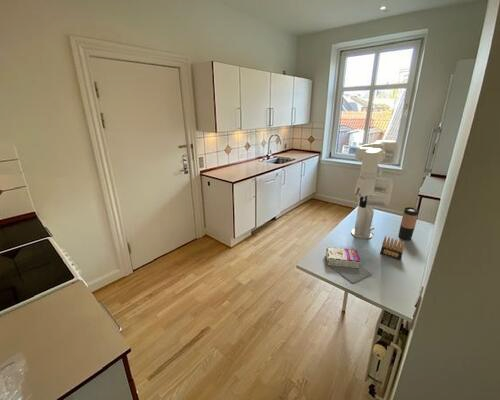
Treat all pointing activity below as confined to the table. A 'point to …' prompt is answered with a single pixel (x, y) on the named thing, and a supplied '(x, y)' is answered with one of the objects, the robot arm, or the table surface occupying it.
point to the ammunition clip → (392, 249)
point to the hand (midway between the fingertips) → (362, 206)
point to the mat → (352, 273)
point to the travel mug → (408, 223)
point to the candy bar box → (342, 257)
